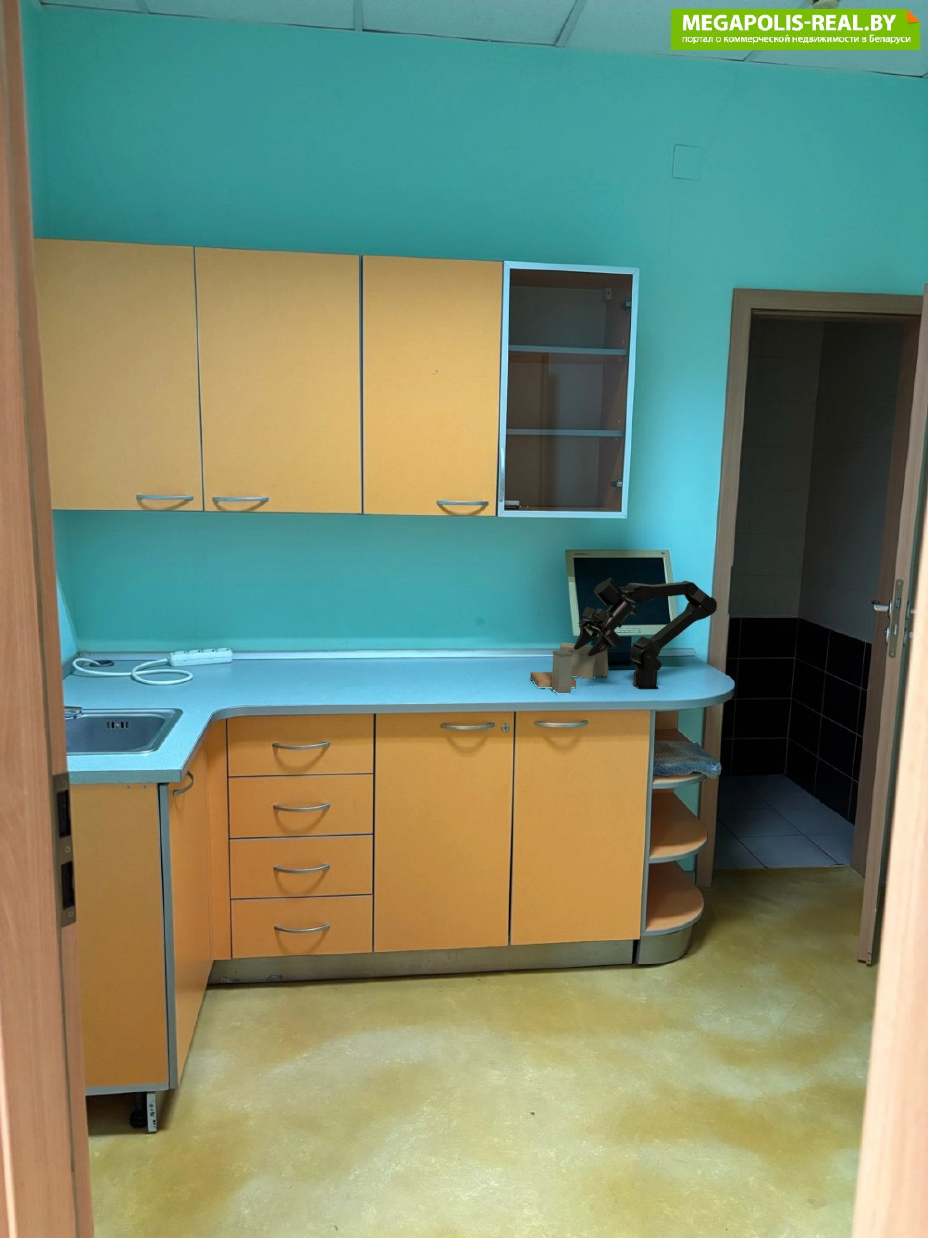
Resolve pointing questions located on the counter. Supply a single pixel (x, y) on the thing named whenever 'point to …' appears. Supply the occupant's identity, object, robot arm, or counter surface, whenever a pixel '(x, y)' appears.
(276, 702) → the counter surface
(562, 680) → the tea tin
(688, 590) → the robot arm
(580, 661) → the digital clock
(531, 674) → the walnut board
